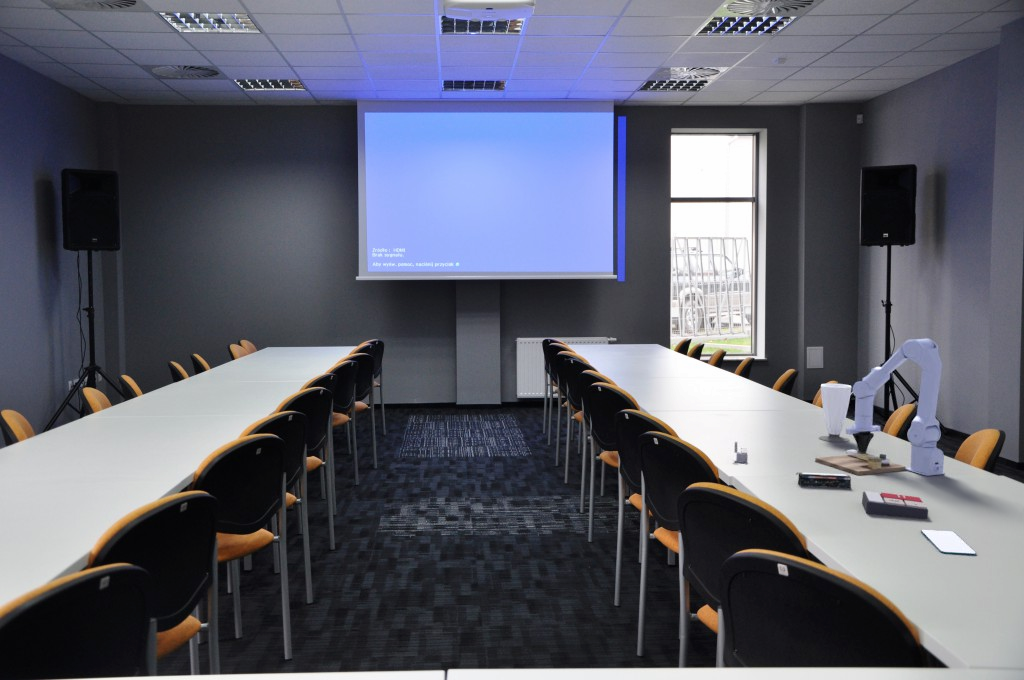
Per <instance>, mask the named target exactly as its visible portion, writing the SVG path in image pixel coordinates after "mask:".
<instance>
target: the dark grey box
mask: <svg viewBox="0 0 1024 680" xmlns="http://www.w3.org/2000/svg"><path fill="white" fill-rule="evenodd" d="M861 499H862V501H861V504H862V508H863V509H864V512H865V514H867V515H872V516H873V515H875V516H891V517H898V518H908V519H919V520H928V516H929V509H928V507H927V506H926V504H925V503H924V502H923V501H922V499H921V497H918V496H910V495H904V494H898V493H897V494H895V493H888V492H887V493H886V492H874V491H868V490H866V491H863V492H862V497H861Z"/></svg>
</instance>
